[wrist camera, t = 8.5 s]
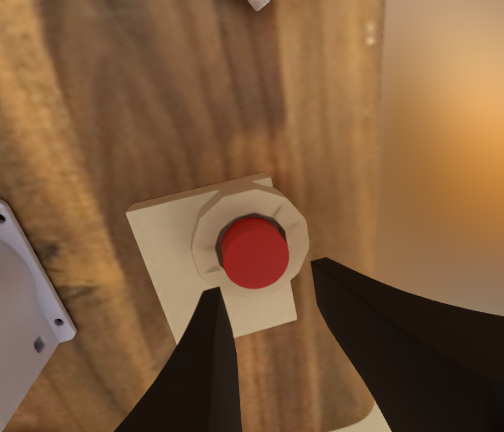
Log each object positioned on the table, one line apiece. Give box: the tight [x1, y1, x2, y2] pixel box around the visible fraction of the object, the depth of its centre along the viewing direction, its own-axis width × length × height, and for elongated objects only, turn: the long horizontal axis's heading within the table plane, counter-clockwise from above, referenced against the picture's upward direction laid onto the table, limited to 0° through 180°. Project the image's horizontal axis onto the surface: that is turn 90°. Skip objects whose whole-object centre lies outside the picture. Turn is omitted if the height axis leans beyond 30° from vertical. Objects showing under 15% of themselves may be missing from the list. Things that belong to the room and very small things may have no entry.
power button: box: [221, 217, 289, 289], centre depth 14 cm, size 3×3×2 cm
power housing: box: [125, 172, 310, 344], centre depth 17 cm, size 10×9×4 cm
